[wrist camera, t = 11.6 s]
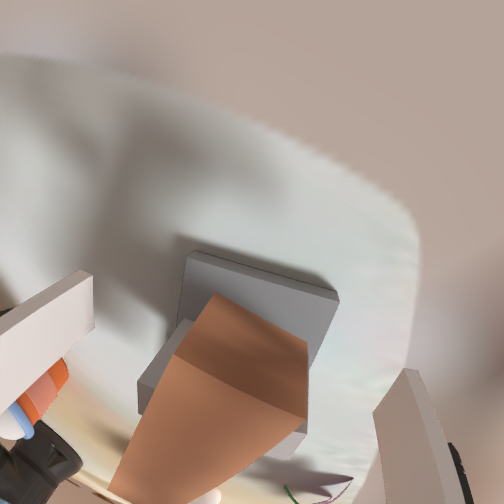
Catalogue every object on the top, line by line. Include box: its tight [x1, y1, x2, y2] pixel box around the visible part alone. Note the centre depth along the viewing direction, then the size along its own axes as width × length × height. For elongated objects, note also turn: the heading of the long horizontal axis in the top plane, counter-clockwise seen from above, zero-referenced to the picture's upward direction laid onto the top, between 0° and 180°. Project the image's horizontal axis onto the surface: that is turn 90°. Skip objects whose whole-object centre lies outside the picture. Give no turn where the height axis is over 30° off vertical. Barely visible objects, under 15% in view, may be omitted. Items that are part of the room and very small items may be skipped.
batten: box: [107, 292, 308, 504], centre depth 11 cm, size 4×16×4 cm, turn 152°
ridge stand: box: [137, 250, 340, 460], centre depth 17 cm, size 10×12×8 cm
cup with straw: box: [0, 358, 68, 440], centre depth 19 cm, size 9×9×18 cm
